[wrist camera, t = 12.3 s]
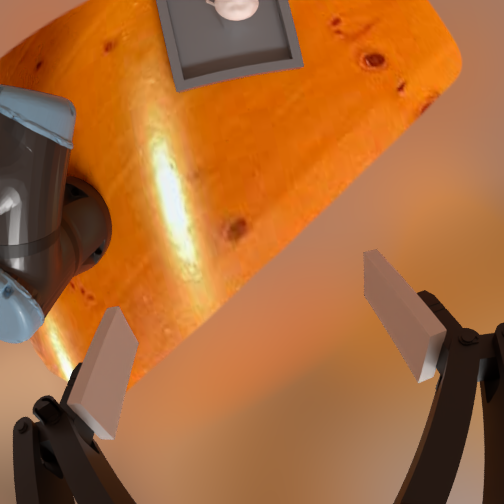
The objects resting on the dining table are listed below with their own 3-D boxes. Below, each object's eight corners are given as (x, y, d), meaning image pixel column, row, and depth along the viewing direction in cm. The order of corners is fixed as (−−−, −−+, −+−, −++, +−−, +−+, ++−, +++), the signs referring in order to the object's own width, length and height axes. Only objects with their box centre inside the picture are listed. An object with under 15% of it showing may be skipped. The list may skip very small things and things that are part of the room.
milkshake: (208, 10, 30) (203, -18, 21) (249, 5, 30) (257, -23, 21) (212, 39, 32) (207, 18, 23) (254, 34, 32) (263, 13, 23)
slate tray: (179, 92, 35) (176, 91, 33) (157, -8, 28) (153, -14, 26) (299, 68, 35) (303, 66, 33) (274, -30, 28) (276, -37, 26)
